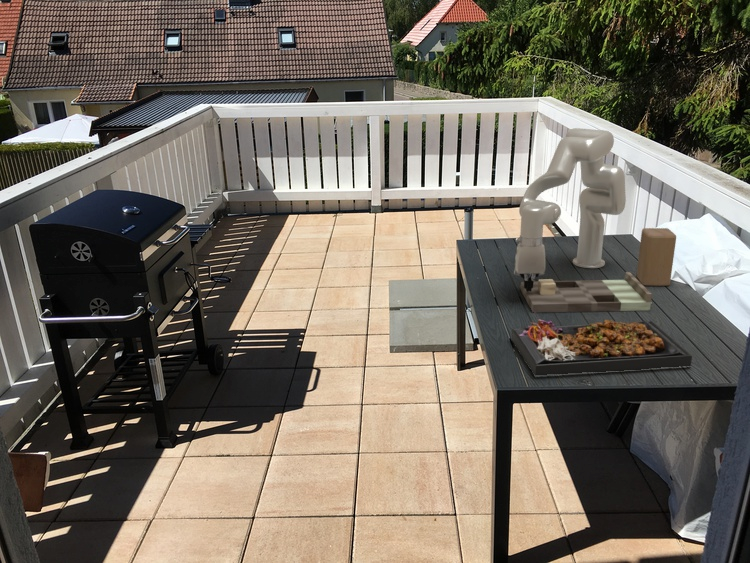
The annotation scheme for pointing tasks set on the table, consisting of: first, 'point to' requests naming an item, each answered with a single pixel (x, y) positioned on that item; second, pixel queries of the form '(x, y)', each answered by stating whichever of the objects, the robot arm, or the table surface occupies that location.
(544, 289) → the birch block
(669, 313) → the table surface
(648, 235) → the block
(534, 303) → the board
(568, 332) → the food platter
